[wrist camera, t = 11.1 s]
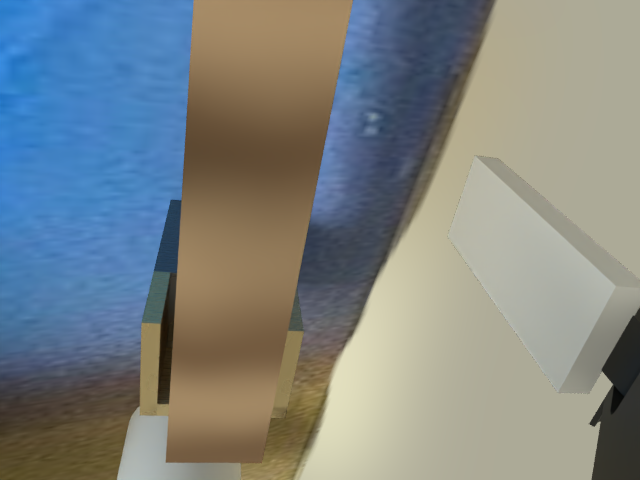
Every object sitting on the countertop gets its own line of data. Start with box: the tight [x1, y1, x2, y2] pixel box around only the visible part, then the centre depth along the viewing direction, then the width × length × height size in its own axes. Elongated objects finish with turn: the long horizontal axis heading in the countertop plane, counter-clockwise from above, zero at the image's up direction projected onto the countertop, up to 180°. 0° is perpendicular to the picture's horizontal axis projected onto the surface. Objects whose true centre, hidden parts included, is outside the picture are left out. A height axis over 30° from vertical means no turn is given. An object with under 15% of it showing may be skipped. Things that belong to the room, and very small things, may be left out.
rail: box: [166, 0, 353, 463], centre depth 19 cm, size 28×4×8 cm, turn 169°
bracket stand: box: [140, 200, 304, 418], centre depth 24 cm, size 33×8×12 cm, turn 170°
